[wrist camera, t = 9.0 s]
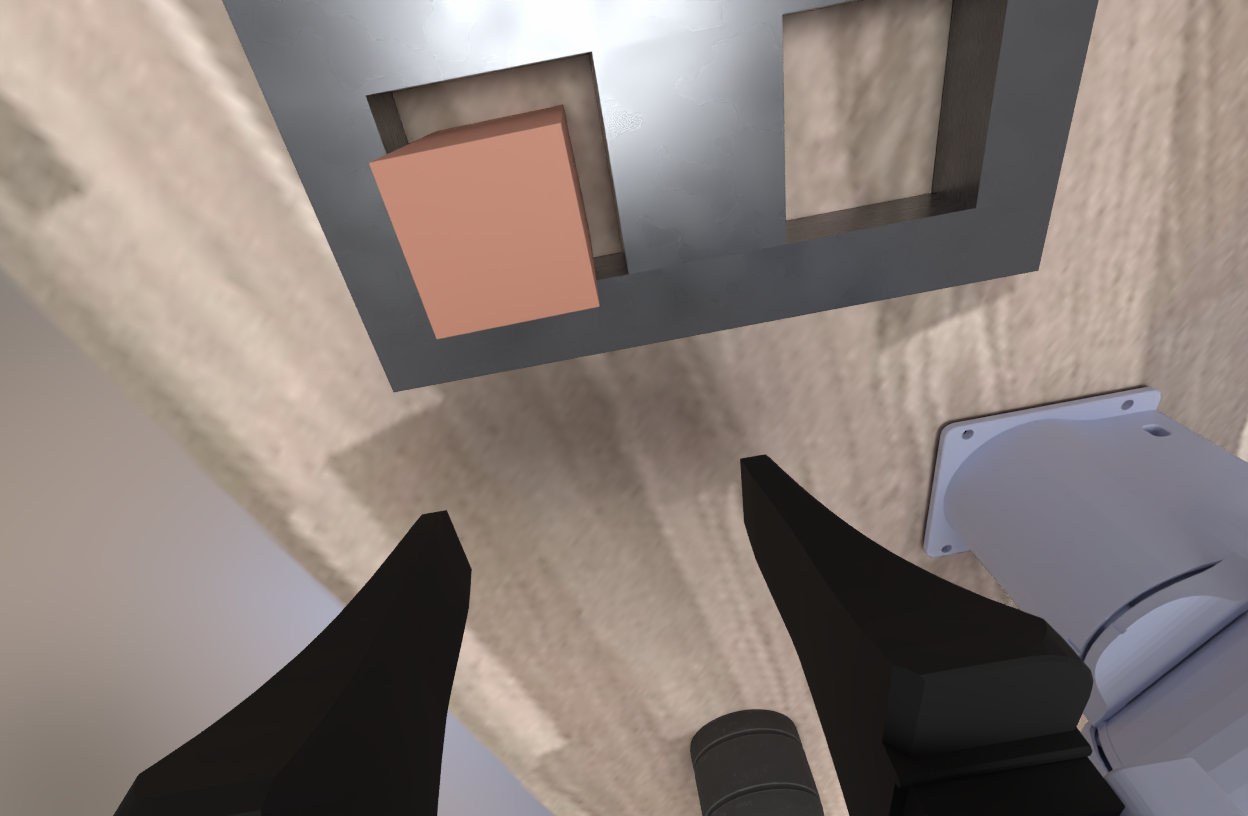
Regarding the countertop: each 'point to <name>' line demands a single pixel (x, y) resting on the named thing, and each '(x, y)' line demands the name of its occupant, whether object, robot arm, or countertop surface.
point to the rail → (670, 160)
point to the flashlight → (753, 767)
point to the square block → (492, 222)
